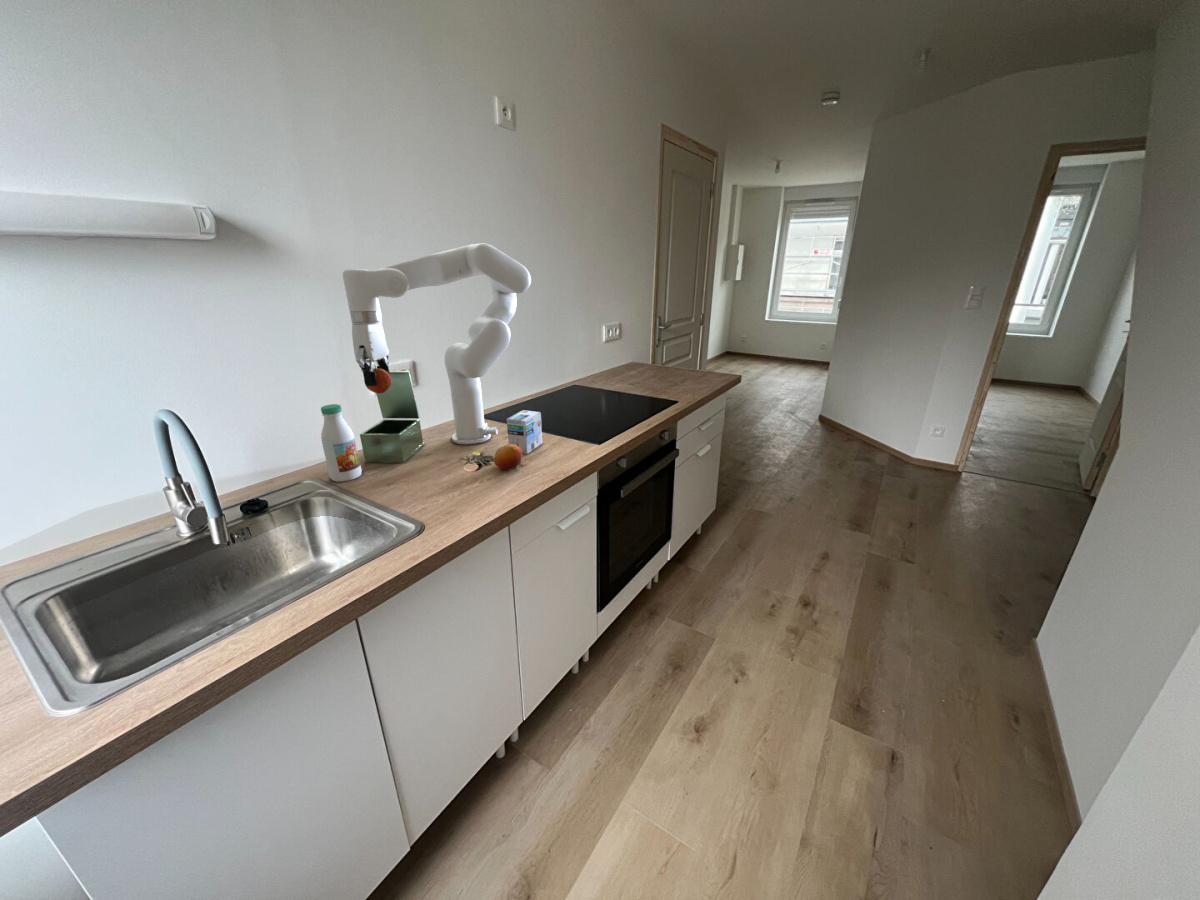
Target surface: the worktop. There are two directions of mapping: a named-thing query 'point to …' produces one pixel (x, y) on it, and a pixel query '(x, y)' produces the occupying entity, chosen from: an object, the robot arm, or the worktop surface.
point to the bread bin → (392, 441)
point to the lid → (399, 397)
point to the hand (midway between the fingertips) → (378, 381)
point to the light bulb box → (525, 430)
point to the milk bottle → (339, 445)
